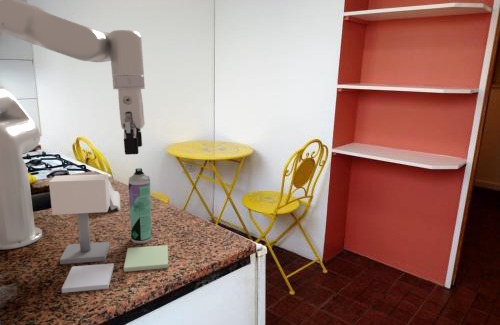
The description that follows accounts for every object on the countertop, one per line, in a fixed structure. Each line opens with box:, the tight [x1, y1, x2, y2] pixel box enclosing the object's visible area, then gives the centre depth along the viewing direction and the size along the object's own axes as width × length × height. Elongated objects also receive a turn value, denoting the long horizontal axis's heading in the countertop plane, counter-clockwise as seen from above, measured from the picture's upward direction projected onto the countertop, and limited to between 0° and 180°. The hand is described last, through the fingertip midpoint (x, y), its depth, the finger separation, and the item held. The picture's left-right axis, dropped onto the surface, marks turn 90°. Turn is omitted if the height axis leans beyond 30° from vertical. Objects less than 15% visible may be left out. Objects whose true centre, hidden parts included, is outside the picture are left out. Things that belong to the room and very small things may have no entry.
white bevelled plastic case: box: [103, 178, 121, 214], centre depth 126 cm, size 17×5×10 cm, turn 19°
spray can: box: [127, 167, 153, 244], centre depth 99 cm, size 6×6×20 cm
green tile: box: [123, 244, 169, 273], centre depth 90 cm, size 10×10×1 cm
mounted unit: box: [48, 173, 110, 265], centre depth 89 cm, size 12×8×20 cm, turn 103°
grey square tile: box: [61, 262, 115, 294], centre depth 81 cm, size 9×9×1 cm
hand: (134, 150), depth 95 cm, fingers open, 9 cm apart
